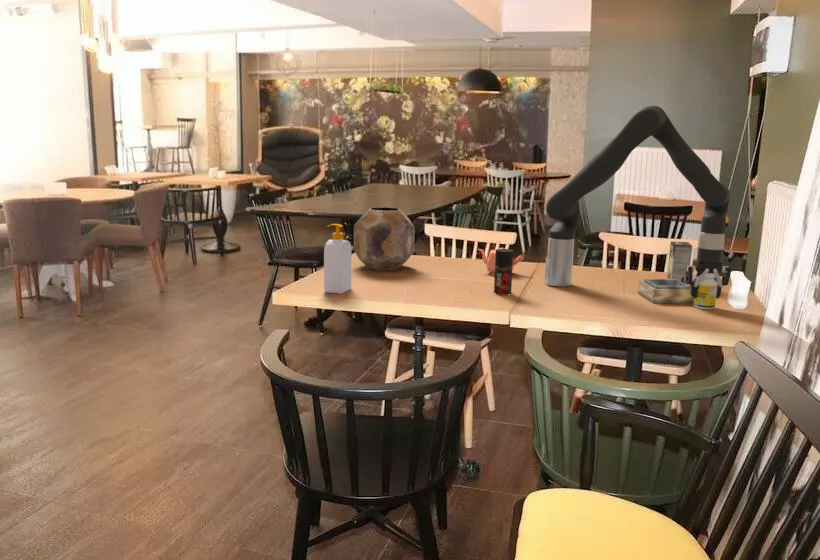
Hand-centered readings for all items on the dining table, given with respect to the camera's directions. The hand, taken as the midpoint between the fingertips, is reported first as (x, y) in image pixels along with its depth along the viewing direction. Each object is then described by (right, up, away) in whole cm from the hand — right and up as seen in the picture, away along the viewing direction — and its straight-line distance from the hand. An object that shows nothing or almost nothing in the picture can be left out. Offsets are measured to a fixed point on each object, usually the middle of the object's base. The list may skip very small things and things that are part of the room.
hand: (705, 297), depth 219 cm
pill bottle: (0, -3, +1) cm, 3 cm away
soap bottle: (-120, +2, +14) cm, 121 cm away
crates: (-8, -1, +12) cm, 15 cm away
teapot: (-60, +8, +50) cm, 78 cm away
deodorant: (-63, +1, +15) cm, 65 cm away
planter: (-106, +11, +57) cm, 120 cm away
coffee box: (+3, +3, +32) cm, 32 cm away
